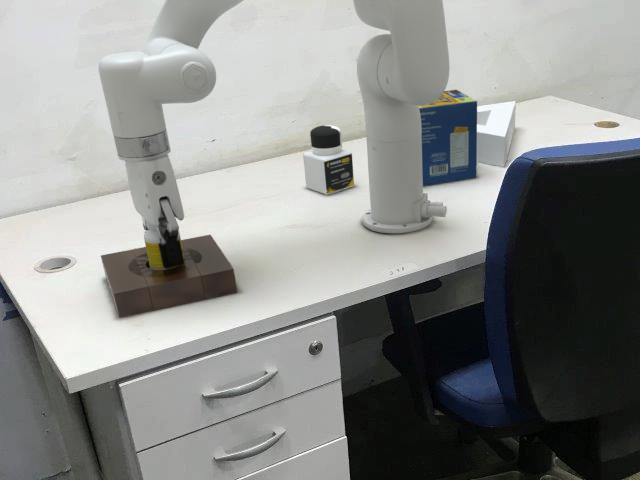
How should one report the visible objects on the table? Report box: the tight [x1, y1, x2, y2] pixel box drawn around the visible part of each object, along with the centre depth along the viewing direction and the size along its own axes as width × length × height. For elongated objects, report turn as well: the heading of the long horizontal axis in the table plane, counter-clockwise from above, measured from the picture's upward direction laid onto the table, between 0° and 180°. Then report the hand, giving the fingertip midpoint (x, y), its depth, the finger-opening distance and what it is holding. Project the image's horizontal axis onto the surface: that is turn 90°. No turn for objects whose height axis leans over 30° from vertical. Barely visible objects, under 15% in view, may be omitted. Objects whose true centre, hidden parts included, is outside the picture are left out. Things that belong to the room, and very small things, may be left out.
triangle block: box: [477, 100, 517, 168], centre depth 191 cm, size 30×26×6 cm
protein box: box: [419, 89, 478, 187], centre depth 169 cm, size 10×15×16 cm
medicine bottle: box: [302, 124, 355, 196], centre depth 167 cm, size 7×7×12 cm
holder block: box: [100, 234, 238, 318], centre depth 133 cm, size 18×16×4 cm
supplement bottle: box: [143, 218, 185, 270], centre depth 130 cm, size 5×5×10 cm
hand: (166, 258), depth 131 cm, fingers closed on supplement bottle, 5 cm apart
